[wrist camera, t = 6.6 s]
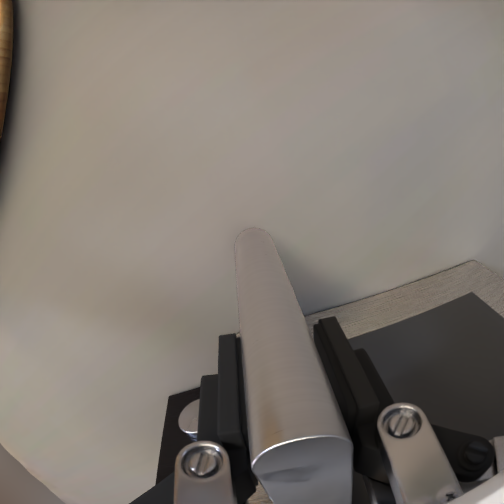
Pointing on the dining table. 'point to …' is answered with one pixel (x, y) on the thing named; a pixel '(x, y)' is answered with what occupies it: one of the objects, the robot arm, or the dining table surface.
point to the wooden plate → (5, 54)
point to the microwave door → (382, 356)
